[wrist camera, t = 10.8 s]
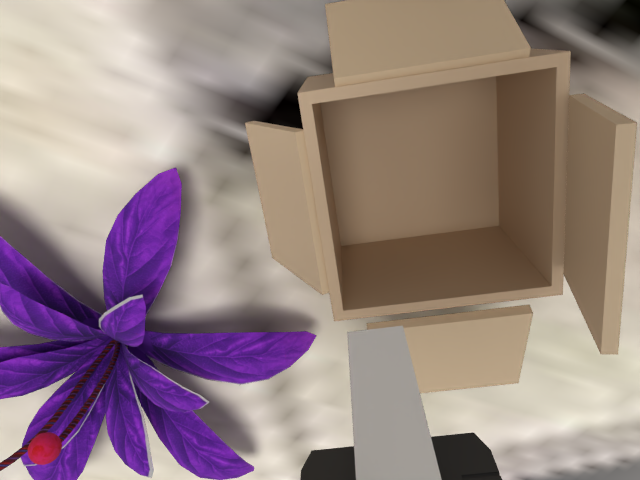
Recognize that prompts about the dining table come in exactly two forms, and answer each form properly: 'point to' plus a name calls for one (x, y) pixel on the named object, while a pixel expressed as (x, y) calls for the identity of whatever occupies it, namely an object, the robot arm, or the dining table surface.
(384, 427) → the robot arm
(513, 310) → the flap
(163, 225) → the decorative flower
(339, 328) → the dining table surface
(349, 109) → the carton
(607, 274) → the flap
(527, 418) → the dining table surface
